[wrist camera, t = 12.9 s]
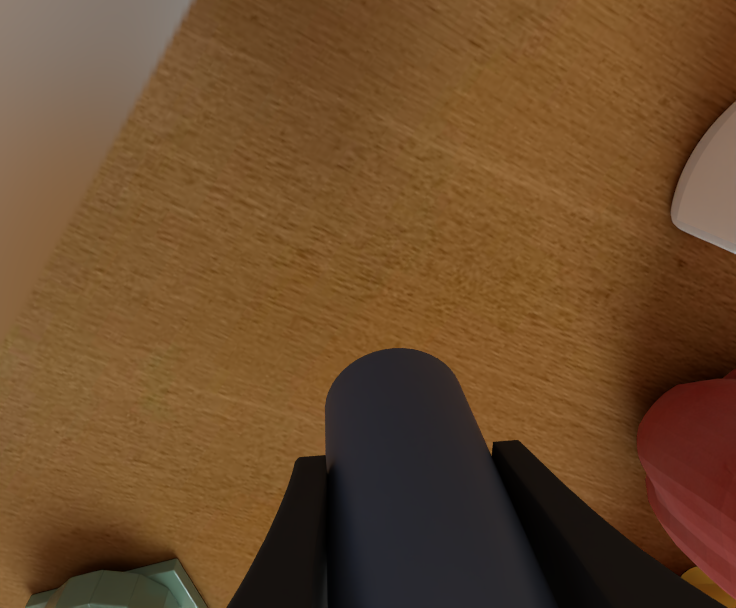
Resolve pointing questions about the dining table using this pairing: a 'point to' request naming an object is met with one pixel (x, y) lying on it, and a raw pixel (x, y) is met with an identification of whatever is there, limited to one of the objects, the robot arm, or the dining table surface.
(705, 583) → the teapot
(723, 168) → the eye dropper bottle
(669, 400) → the vegetable
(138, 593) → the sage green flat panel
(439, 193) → the dining table surface
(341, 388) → the blue gray cylinder
